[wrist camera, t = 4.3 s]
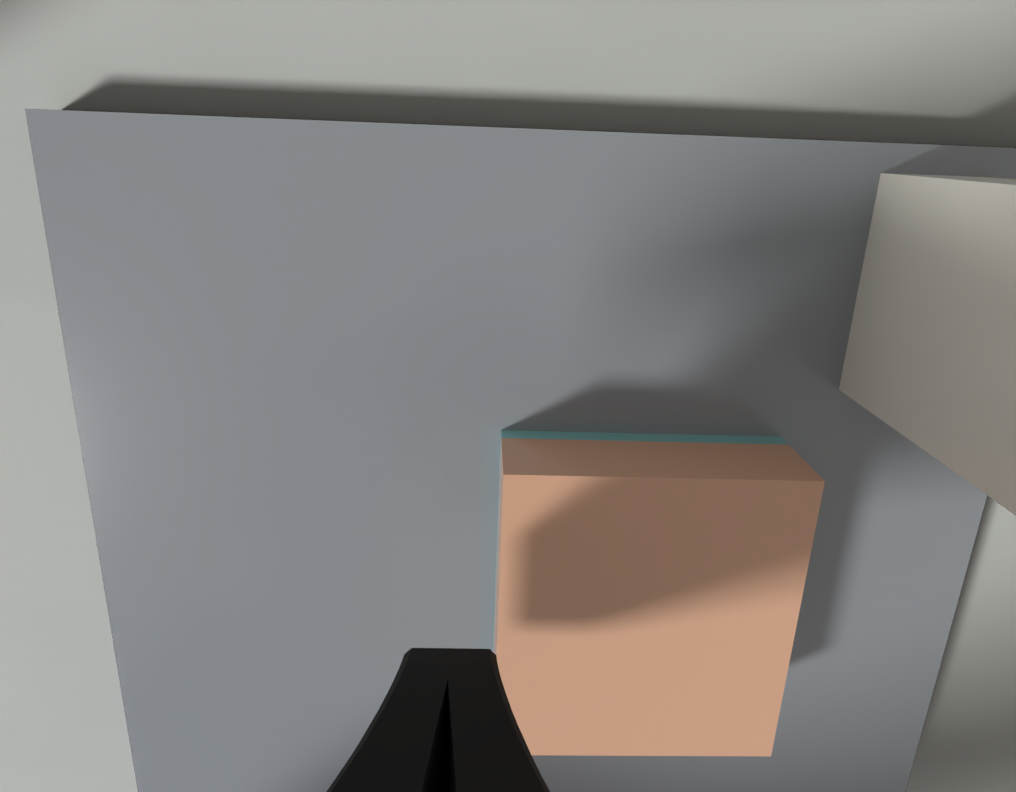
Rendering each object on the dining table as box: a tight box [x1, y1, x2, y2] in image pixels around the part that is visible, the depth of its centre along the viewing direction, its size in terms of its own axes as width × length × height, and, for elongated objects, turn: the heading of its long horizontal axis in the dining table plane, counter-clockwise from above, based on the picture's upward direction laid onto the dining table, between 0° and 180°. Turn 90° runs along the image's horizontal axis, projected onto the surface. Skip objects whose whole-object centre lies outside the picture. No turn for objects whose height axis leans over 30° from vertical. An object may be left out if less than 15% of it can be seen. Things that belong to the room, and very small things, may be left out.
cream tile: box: [839, 173, 1016, 515], centre depth 11 cm, size 4×2×6 cm, turn 178°
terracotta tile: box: [493, 430, 825, 756], centre depth 14 cm, size 6×2×6 cm
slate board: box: [25, 109, 1016, 792], centre depth 15 cm, size 15×18×1 cm
